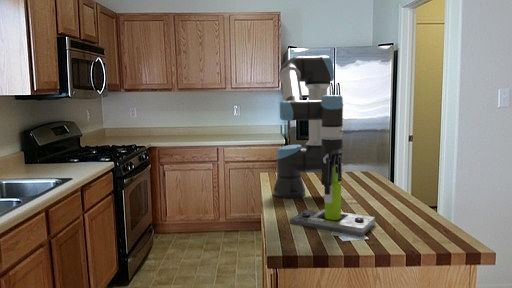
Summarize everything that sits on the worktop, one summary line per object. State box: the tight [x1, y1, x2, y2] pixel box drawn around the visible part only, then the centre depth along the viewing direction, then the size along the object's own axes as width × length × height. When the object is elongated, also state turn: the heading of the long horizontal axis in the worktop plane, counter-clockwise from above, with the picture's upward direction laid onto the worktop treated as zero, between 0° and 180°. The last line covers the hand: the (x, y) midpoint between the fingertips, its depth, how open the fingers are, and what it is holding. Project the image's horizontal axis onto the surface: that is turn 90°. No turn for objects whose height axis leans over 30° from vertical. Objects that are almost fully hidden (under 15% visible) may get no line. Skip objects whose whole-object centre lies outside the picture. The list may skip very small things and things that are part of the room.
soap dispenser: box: [324, 164, 342, 221], centre depth 148 cm, size 6×7×20 cm
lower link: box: [289, 209, 344, 233], centre depth 152 cm, size 20×14×2 cm, turn 57°
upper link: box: [308, 208, 376, 237], centre depth 148 cm, size 20×14×4 cm, turn 57°
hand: (331, 200), depth 149 cm, fingers closed on soap dispenser, 6 cm apart
